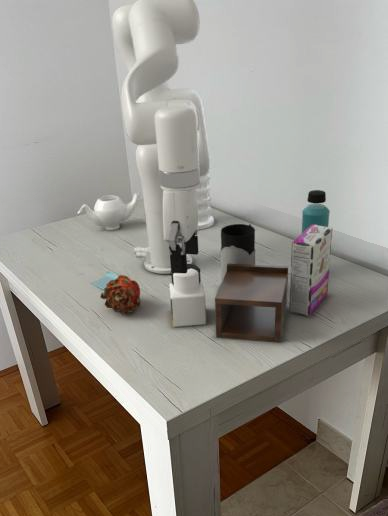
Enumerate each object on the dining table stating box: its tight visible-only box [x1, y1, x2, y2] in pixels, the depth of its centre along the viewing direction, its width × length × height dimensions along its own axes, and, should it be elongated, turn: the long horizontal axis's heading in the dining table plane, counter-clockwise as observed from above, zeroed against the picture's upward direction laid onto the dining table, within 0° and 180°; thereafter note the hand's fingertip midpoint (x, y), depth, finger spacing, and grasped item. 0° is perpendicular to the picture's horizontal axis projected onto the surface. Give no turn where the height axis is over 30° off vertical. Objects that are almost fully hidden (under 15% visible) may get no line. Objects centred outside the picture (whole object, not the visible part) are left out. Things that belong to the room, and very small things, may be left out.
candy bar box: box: [289, 225, 333, 317], centre depth 117 cm, size 11×5×16 cm, turn 148°
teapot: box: [77, 192, 141, 231], centre depth 167 cm, size 10×20×9 cm, turn 112°
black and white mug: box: [220, 222, 256, 284], centre depth 127 cm, size 9×14×15 cm, turn 158°
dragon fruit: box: [100, 274, 141, 314], centre depth 122 cm, size 8×8×12 cm
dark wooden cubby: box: [214, 264, 289, 343], centre depth 113 cm, size 13×14×10 cm
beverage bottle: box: [300, 189, 331, 235], centre depth 130 cm, size 6×7×20 cm
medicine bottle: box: [168, 263, 207, 328], centre depth 116 cm, size 7×7×12 cm
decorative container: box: [196, 161, 215, 231], centre depth 164 cm, size 12×12×18 cm
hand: (185, 262), depth 112 cm, fingers open, 9 cm apart
